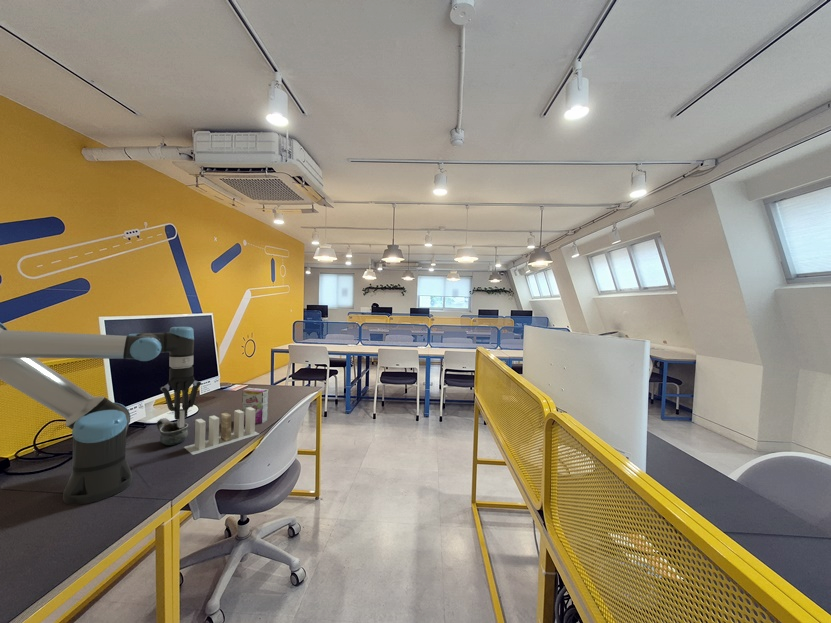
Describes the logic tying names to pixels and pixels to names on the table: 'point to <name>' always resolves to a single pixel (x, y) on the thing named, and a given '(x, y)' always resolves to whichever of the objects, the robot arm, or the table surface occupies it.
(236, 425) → the domino
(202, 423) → the domino
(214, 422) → the domino
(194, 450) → the mat
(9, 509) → the table surface
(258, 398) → the candy bar box
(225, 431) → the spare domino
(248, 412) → the domino
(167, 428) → the mug
